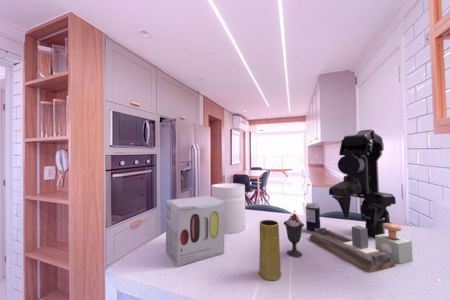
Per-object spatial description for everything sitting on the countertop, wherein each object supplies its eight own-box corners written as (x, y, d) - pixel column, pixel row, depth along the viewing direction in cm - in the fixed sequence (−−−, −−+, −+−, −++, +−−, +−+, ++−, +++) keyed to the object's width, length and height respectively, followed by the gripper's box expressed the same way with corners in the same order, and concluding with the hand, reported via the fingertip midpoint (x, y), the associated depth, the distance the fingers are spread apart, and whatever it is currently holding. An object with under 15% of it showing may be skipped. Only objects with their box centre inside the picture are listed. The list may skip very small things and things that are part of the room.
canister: (251, 225, 96) (250, 184, 97) (235, 236, 83) (234, 188, 84) (223, 220, 105) (223, 182, 106) (204, 229, 91) (204, 186, 92)
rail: (329, 236, 82) (329, 226, 82) (394, 266, 59) (393, 252, 59) (309, 239, 79) (309, 229, 79) (369, 272, 56) (368, 257, 56)
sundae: (295, 260, 63) (293, 212, 63) (280, 251, 69) (279, 208, 69) (309, 255, 66) (308, 210, 66) (293, 247, 72) (292, 206, 72)
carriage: (355, 246, 68) (354, 223, 68) (379, 257, 60) (378, 230, 61) (343, 248, 67) (342, 224, 67) (366, 260, 59) (365, 232, 59)
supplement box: (177, 268, 59) (177, 207, 60) (165, 251, 70) (165, 199, 71) (226, 253, 68) (225, 200, 69) (208, 240, 79) (208, 194, 80)
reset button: (390, 236, 67) (389, 222, 67) (405, 241, 63) (404, 226, 63) (380, 238, 66) (380, 223, 66) (395, 243, 62) (394, 228, 62)
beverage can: (322, 234, 84) (321, 205, 85) (307, 233, 85) (307, 205, 86) (318, 229, 90) (317, 202, 90) (305, 228, 91) (304, 202, 92)
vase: (256, 268, 58) (255, 219, 59) (277, 267, 59) (275, 218, 59) (262, 281, 52) (261, 226, 53) (284, 280, 53) (283, 225, 53)
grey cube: (388, 250, 68) (387, 233, 69) (412, 260, 62) (411, 241, 62) (374, 253, 67) (374, 235, 67) (398, 264, 60) (397, 243, 60)
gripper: (316, 172, 71) (317, 216, 70) (366, 175, 53) (369, 234, 53) (340, 171, 75) (341, 213, 74) (395, 174, 57) (398, 230, 56)
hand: (359, 221), depth 64 cm, fingers open, 9 cm apart
